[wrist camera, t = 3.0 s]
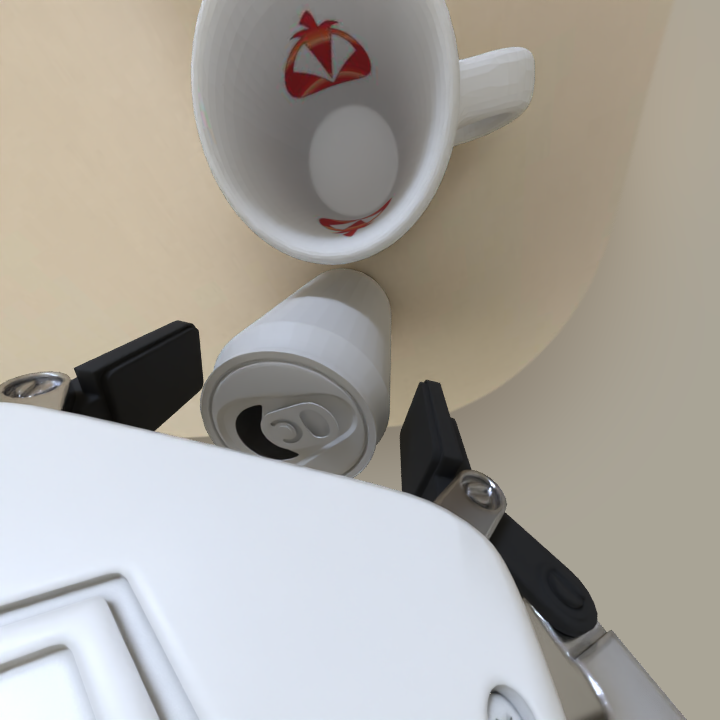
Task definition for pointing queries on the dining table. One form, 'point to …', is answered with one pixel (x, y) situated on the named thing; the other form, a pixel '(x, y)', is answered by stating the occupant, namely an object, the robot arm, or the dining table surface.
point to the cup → (341, 115)
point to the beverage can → (308, 378)
